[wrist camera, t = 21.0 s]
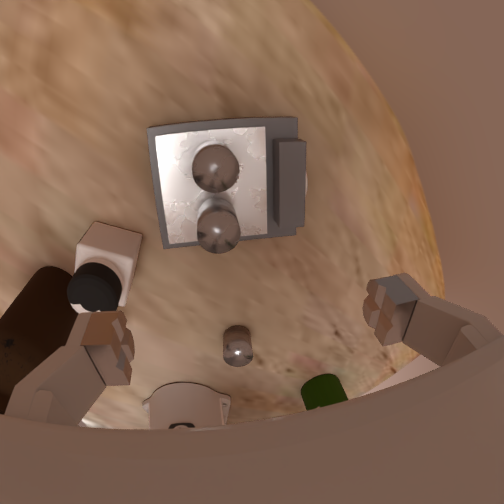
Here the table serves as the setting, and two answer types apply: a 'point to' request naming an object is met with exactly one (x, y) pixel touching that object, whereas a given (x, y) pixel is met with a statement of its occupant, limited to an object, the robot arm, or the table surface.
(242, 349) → the cylinder
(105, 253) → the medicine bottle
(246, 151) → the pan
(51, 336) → the olive oil
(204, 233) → the cylinder
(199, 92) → the table surface
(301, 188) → the scale
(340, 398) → the wine bottle
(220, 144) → the cylinder
